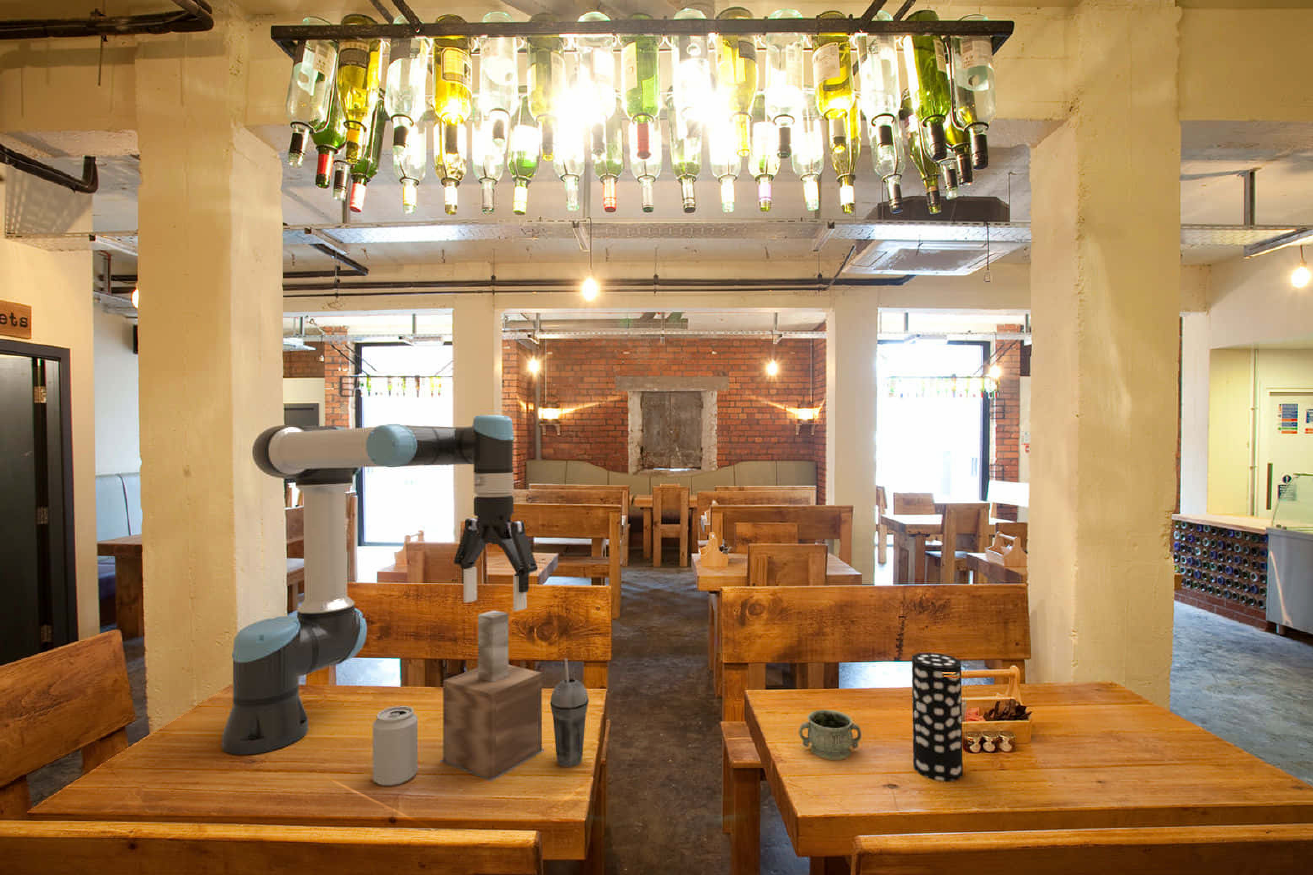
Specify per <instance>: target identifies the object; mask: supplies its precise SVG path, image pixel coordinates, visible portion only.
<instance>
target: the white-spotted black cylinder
mask: <svg viewBox="0 0 1313 875" xmlns="http://www.w3.org/2000/svg"><path fill="white" fill-rule="evenodd" d="M911 668H912V669H911V677H912V678H911V679H912V680H911V682H912V683H911V688H912V689H911V690H912V694H911V695H912V696H911V698H912V700H911V701H912V766H913V769H914V770H915V771H916V773H918V774H920V775H921V776H924V777H926V778H928V779H932V780H936V781H940V782H941V781H943V782H953V781H957V780H960V779H961V778H962V777H963V774H964V773H963V765H964V764H963V712H962V711H963V708H962V706H963V705H962V704H963V703H962V702H963V701H962V699H963V698H962V662H961V660H960V659H958V658H956V657H954V656H951V655H949V654H944V653H943V654H942V653H936V652H919V653H915V654H913V655H912V656H911ZM942 672H956V673H955V674H943V673H942ZM944 675H954V676H959V677H961V678H947V677H942V676H944Z"/></svg>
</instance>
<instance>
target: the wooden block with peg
mask: <svg viewBox="0 0 1313 875" xmlns="http://www.w3.org/2000/svg"><path fill="white" fill-rule="evenodd" d="M477 641H478V642H477V667H475V668H473V669H469V670H468V671H465V672H462V673H460V674H459V673H458V674H457V675H455V676H454V675H453V676H452V677H449V678H446V679H444V680H443V681H442V682H443V683H442V684H443V685H442V688H443V691H442V692H443V693H442V695H443V696H442V699H443V700H442V704H443V706H442V707H443V709H442V710H443V712H442V717H443V718H442V720H443V722H442V737H443V738H442V752H443V753H442V756H443V758H442V759H443V760H444V761H446V762H449V763H451V764H454V765H457V766H459V767H462V768H464V769H467V770H469V771H472V772H475V773H477V774H480V775H482V776H485V777H487V778H490V779H493V778H494V777H496V776H498V775H500V774H501V773H503V772H505V771H506V770H508V769H510V768H512V767H513V766H515V765H517V764H518V763H520V762H522V761H524V760H525V759H527V758H529V757H531V756H532V755H534V754H536V753H537V752H539V751H541V750H542V749H543V745H542V744H543V741H542V740H543V734H542V731H543V728H542V727H543V726H542V725H543V722H542V721H543V719H542V718H543V711H542V709H543V706H542V705H543V703H542V702H543V697H542V696H543V690H542V689H543V687H542V686H543V684H542V683H543V682H542V681H543V680H542V679H543V678H542V677H543V674H542V672H541V671H536V670H532V669H528V668H524V667H521V666H516V665H511V664H509V613H508V612H504V611H499V610H491V611H487V612H484V613H483V612H482V613H480V614H478V615H477Z"/></svg>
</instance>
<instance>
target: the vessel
mask: <svg viewBox="0 0 1313 875" xmlns="http://www.w3.org/2000/svg"><path fill="white" fill-rule="evenodd" d="M807 720H808V721H806V722H803V723H801V725H800V727H799V729H798V735H799V738H800V739H801V740H802V745H803V746H804V747H805V748H809V745H810V744H811V745H810V750H811V752H812V753H813V754H814V755H816V756H817V757H820V758H822V759H825V760H831V761H832V760H833V761H837V760H838V761H840V760H845V759H847V758H849V756H851V750H850V747H851V748H852V749H857V748H859V742H860V741H861V739H862V731H861V727H860V726H859V725H858V724H857V723H853V719H852V717H851V716H849V715H848V714H845V713H843V712H841V711H838V710H833V709H818V710H815V711H811V712H810V713H809V714H808V715H807ZM804 729H807V736H806V737H805V736H804V735H803V730H804ZM852 730H854V731H855V730H856V731H857V736H856V737H855V738H854V735H853V732H852Z"/></svg>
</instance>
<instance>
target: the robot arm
mask: <svg viewBox="0 0 1313 875" xmlns="http://www.w3.org/2000/svg"><path fill="white" fill-rule="evenodd" d="M472 421H473V422H472V423H473V424H472V426H436V425H435V426H434V425H433V426H430V425H429V426H428V425H423V426H422V425H421V426H420V425H403V424H398V423H392V424H389V423H387V424H381V425H378V426H377V425H376V426H369V427H368V426H367V427H354V428H353V427H352V428H346V427H340V426H334V425H295V424H281V425H276V426H272V427H270V428H267V429H265V430H264V431H262V432H261V433H260V434H259V435H258V436H257V437H256V438H255V440H254V442H253V444H252V451H251V452H252V459H253V461H254V464H255V465H256V466H257V468H258V469H259V470H260V471H261V472H263V473H264V474H265V475H268V476H270V477H274V478H278V479H287V480H289V479H292V480H293V479H294V480H295V482H294V483H295V488H296V489H298V490H299V491H300V492H301V493H302V495H303V496H302V497H303V499H302V500H303V504H302V505H303V550H304V551H303V563H304V564H303V570H304V572H303V574H304V601H303V602H302V603H301V604H300V605H299V606H298V607H297V609H296V617H295V616H292V615H291V616H290V615H288V616H286V615H285V616H283V615H282V616H277V617H273V618H266V619H263V620H262V619H261V620H259V621H256V622H253V623H252V624H249V625H247V626H245V627H243V628H241V630H239V631H238V632H237V634H236V635H235V637H234V640H233V646H232V648H233V649H232V654H231V657H232V707H231V711H230V713H229V716H228V719H227V722H226V724H225V727H224V730H223V732H222V735H221V748H222V750H223V751H224V752H225V753H228V754H231V755H232V754H234V755H253V754H254V755H255V754H261V753H267V752H271V751H275V750H278V749H280V748H284V747H286V746H289V745H291V744H293V743H296V742H298V741H299V740H301V739H302V738H303V737H305V736H306V735H307V733H308V732H309V717H308V715H307V712H306V710H305V707H304V704H303V702H302V699H301V697H300V688H299V687H300V686H299V685H300V677H303V676H305V675H308V674H311V673H314V672H317V671H320V670H323V669H325V668H328V667H331V666H337V665H340V664H342V663H344V662H345V661H347V660H350V659H353V658H355V657H356V655H358V653H359V652H360V651H361V650H362V648H364V644H365V642H366V638H367V634H368V632H367V631H368V628H367V627H368V626H367V621H366V618H364V614H363V613H362V611H361V610H360V609H359V608H356V607H355V603H356V602H355V601H354V600H353V599H351V598H350V597H349V595H348V565H347V564H348V559H347V558H348V556H347V555H348V554H347V549H348V548H347V547H348V546H347V503H346V502H347V494H346V493H347V491H348V490H349V489H350V488H351V487H352V485H354V478H353V477H355V475H357V474H359V473H360V471H361V470H362V468H372V467H373V468H375V467H376V468H377V467H379V468H380V467H382V468H383V467H385V468H386V467H387V468H399V467H400V468H401V467H414V466H415V467H416V466H419V467H420V466H424V467H425V466H451V465H454V466H455V465H458V466H459V465H472V466H473V493H474V494H475V495H476V496H474V498H473V515H474V516H475V517H473V518H466V519H465V520H464V529H463V533H462V535H461V539H460V542H459V545H458V548H457V550H456V554H455V557H454V559H453V563H454V565H459V567H460V569H462V570H461V582H462V585H463V603H464V604H465V603H466V604H467V603H470V602H475V601H477V600H478V576H477V575H478V573H477V572H478V568H477V567H476V566H477V565H476V563H477V560H479V557H480V555H481V554H482V553H483V551H484V550H485V547H486V546H487V544H493V545H498V547H500V548H501V549H502V550H503V552H504V555H505V556H506V558H507V559H508V561H509V563H510V564H511V566H512V568H513V570H514V572H515V573H514V575H513V576H512V578H513V579H512V580H513V581H512V582H513V583H512V584H513V585H512V586H513V587H512V588H513V590H512V593H513V594H512V595H513V596H512V597H513V598H512V599H513V602H512V603H513V604H512V605H513V607H512V608H513V611H514V612H519V611H522V610H525V609H528V608H527V605H528V599H527V598H528V597H527V596H528V595H527V593H528V592H529V590H530V589H529V588H530V586H529V585H530V584H529V583H530V582H529V580H530V578H529V577H530V574H531V573H534V572H536V571H538V565H537V561H536V559H535V556H534V553H533V551H532V548H531V546H530V543H529V540H528V538H527V533H526V530H525V529H526V528H525V522H524V521H523V520H519V521H512V519H511V517H512V515H513V514H514V513H515V510H514V508H515V505H514V504H515V503H514V502H515V501H514V500H515V499H514V498H515V497H513V495H511V494H512V493H515V492H514V491H515V489H514V488H515V487H514V482H515V481H514V465H513V464H514V440H515V436H514V428H513V427H514V426H513V420H512V418H511V417H510V416H508V415H497V414H496V415H495V414H494V415H493V414H489V415H488V414H486V415H485V414H484V415H476V416H474V418H473V419H472Z"/></svg>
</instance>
